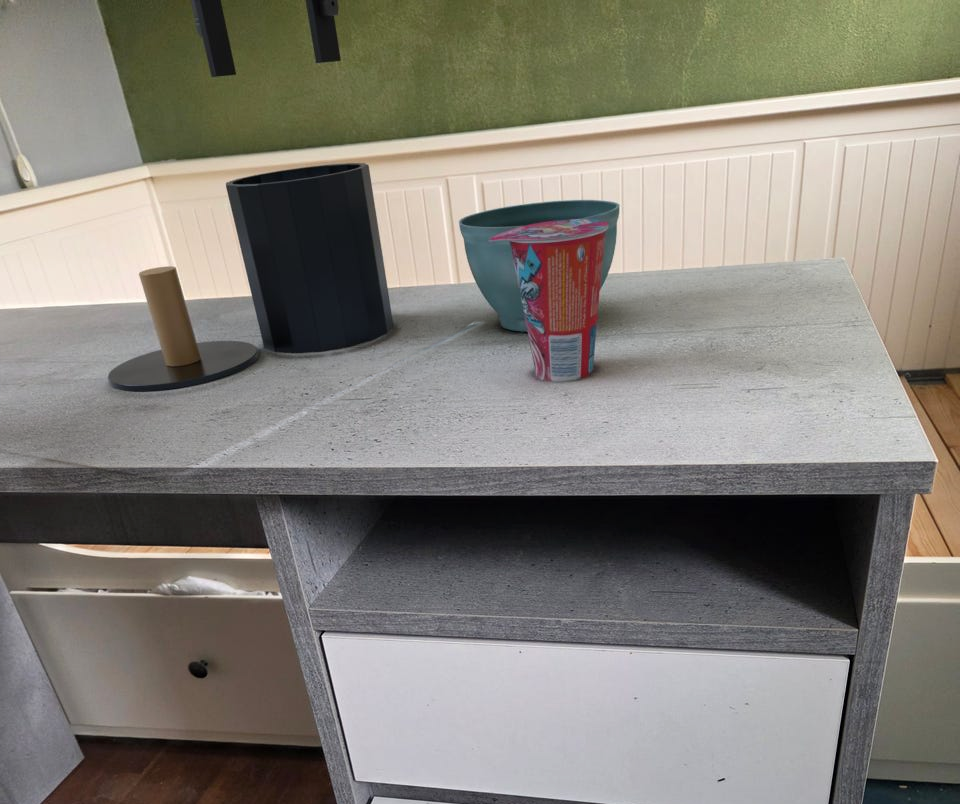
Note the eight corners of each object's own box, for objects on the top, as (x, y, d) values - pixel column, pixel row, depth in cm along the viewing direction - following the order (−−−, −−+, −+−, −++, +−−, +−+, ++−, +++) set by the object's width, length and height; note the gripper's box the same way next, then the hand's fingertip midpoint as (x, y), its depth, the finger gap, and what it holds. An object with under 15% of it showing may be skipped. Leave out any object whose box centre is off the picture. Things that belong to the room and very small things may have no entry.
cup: (568, 353, 83) (561, 215, 77) (631, 369, 77) (630, 220, 71) (490, 379, 79) (476, 235, 73) (550, 397, 73) (541, 243, 67)
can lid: (80, 390, 91) (43, 287, 85) (190, 348, 101) (164, 253, 96) (182, 403, 83) (148, 290, 78) (289, 355, 94) (267, 253, 88)
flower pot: (497, 305, 103) (488, 203, 97) (634, 301, 98) (633, 193, 92) (448, 344, 91) (434, 231, 85) (602, 342, 85) (599, 221, 79)
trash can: (237, 354, 97) (195, 187, 88) (321, 319, 106) (291, 166, 97) (338, 362, 90) (303, 182, 81) (418, 324, 99) (395, 159, 90)
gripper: (362, -270, 69) (401, 53, 81) (151, -193, 81) (211, 78, 93) (299, -291, 64) (351, 57, 75) (83, -206, 76) (156, 83, 87)
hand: (274, 69), depth 84 cm, fingers open, 13 cm apart
